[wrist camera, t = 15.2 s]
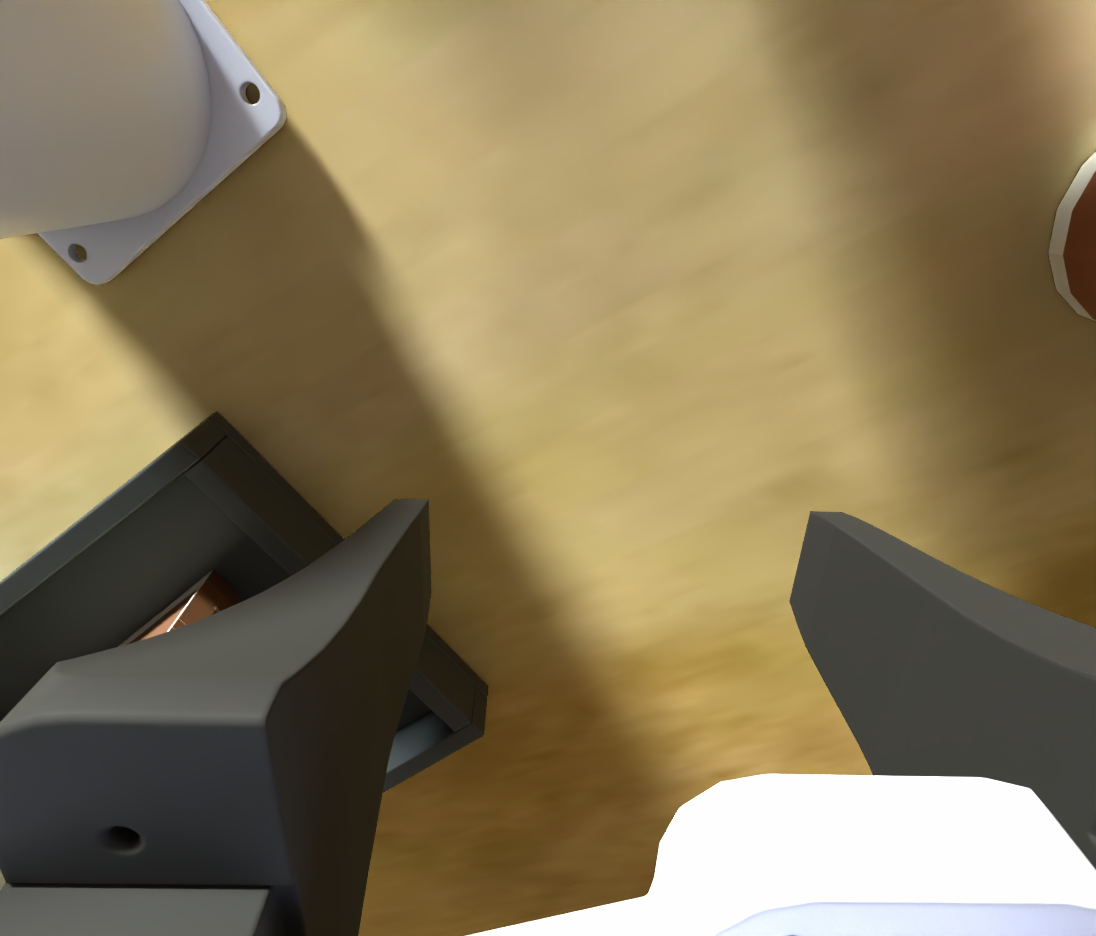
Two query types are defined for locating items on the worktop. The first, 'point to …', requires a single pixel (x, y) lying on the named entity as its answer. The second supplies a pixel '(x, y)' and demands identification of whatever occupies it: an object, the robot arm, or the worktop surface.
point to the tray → (185, 558)
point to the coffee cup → (1077, 243)
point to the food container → (186, 613)
